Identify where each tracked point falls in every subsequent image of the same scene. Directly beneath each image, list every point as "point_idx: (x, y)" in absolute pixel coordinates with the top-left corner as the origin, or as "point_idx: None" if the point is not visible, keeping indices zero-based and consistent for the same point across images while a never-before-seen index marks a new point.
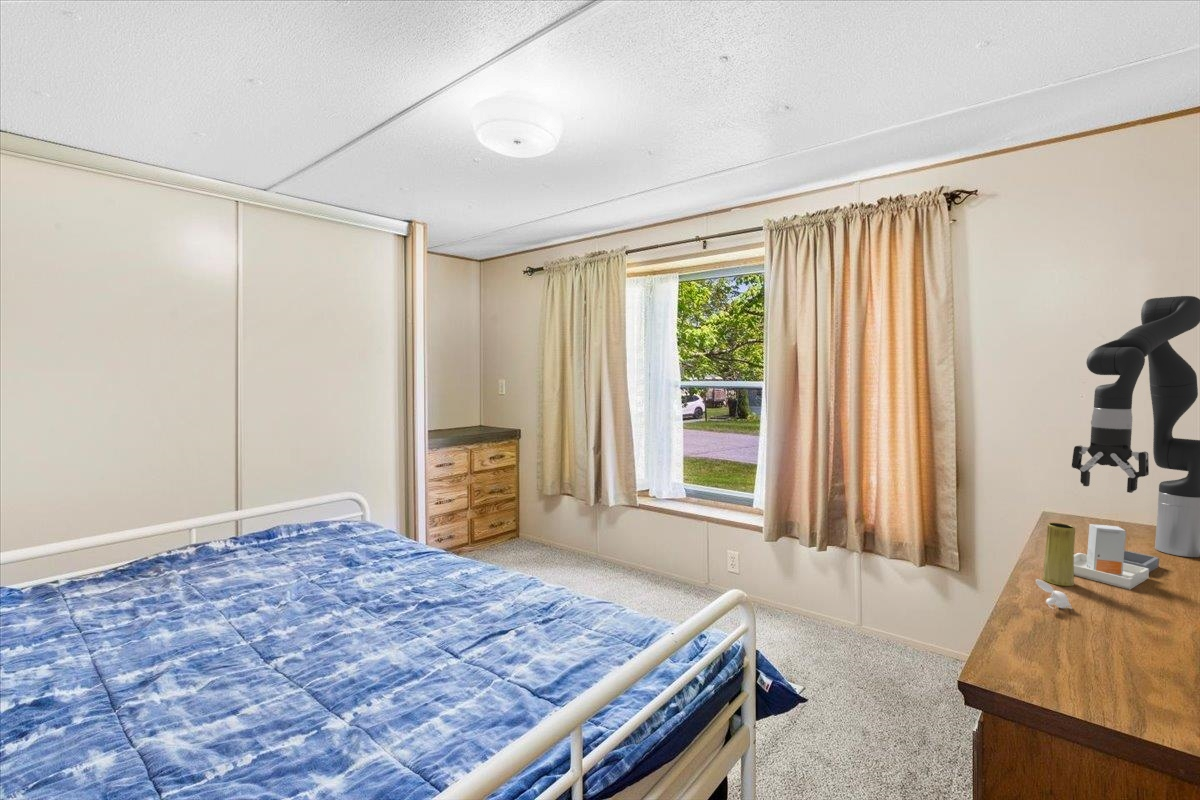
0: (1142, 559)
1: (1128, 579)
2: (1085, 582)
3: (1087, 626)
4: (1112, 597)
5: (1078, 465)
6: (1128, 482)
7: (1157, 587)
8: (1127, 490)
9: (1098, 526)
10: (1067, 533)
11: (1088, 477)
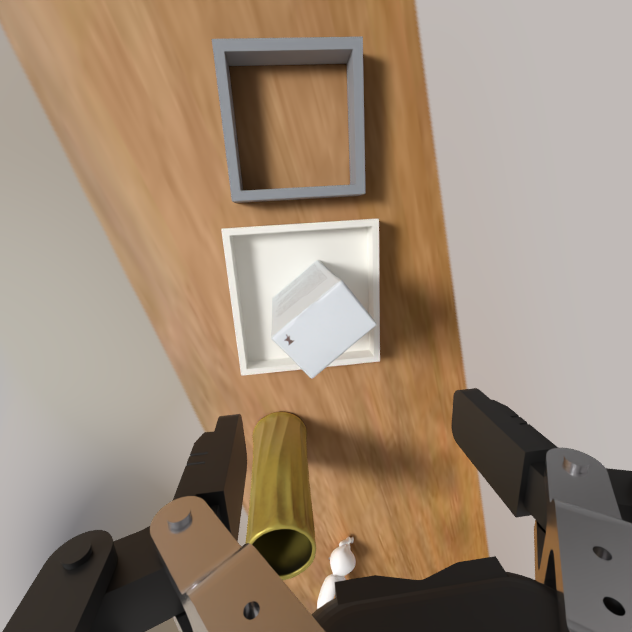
0: (322, 56)
1: (376, 361)
2: (309, 387)
3: (389, 574)
4: (369, 427)
5: (129, 628)
6: (496, 483)
7: (400, 278)
8: (459, 442)
9: (306, 355)
10: (306, 551)
11: (236, 482)
